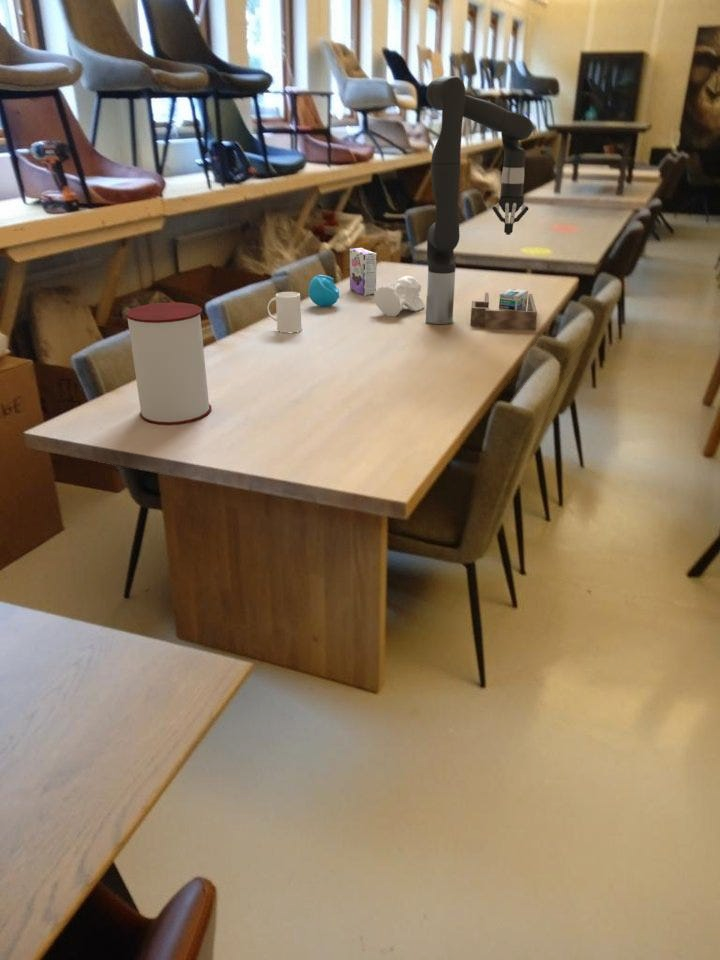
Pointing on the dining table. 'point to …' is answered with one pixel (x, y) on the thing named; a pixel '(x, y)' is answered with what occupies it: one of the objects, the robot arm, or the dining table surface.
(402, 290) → the cherub figurine
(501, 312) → the wooden tray
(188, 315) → the container
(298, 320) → the mug
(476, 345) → the dining table surface
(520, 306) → the light bulb box
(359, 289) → the candy box
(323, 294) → the sphere
